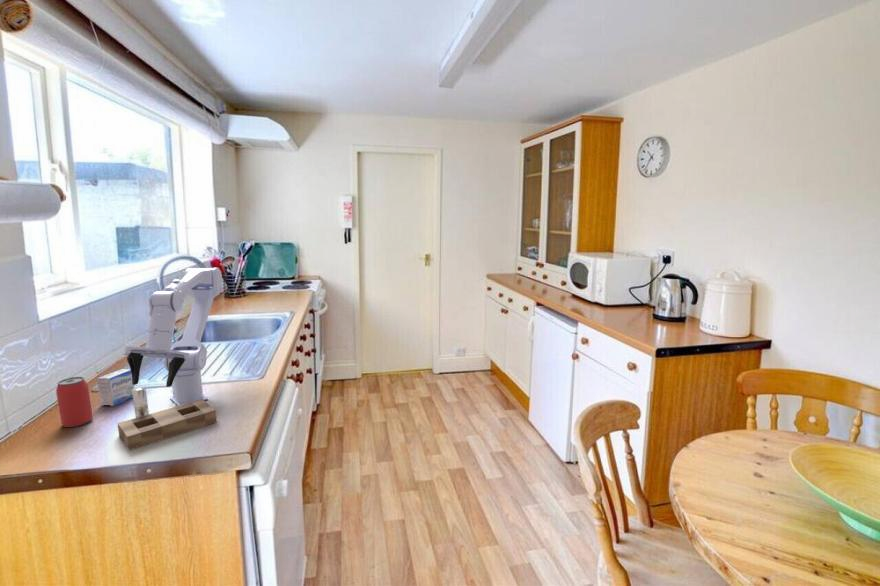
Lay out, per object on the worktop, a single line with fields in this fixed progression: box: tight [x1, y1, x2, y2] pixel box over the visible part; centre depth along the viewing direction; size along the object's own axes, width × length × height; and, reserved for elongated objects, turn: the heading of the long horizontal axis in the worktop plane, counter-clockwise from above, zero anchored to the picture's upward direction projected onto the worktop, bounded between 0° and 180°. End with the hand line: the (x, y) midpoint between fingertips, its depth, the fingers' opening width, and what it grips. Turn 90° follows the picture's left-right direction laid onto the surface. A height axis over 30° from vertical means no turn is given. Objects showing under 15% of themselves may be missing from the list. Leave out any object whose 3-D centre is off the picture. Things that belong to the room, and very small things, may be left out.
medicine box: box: [96, 368, 135, 407], centre depth 134 cm, size 8×4×9 cm, turn 168°
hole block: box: [116, 400, 217, 451], centre depth 117 cm, size 10×20×4 cm, turn 136°
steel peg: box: [132, 386, 150, 418], centre depth 119 cm, size 3×3×10 cm
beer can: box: [55, 376, 94, 428], centre depth 120 cm, size 7×7×12 cm
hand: (152, 385), depth 115 cm, fingers open, 7 cm apart
